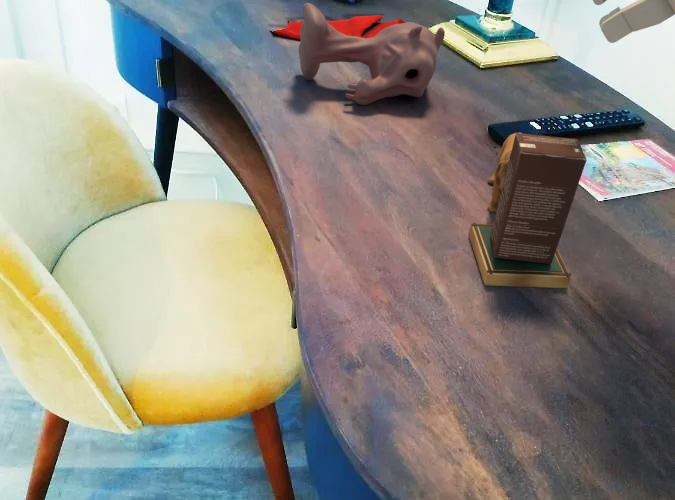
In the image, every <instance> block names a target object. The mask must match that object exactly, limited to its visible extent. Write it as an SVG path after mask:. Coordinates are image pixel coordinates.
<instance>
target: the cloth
mask: <svg viewBox="0 0 675 500" xmlns="http://www.w3.org/2000/svg"><path fill="white" fill-rule="evenodd" d="M382 19H384V16H383V15H381V14H374V15H361V16H360V15H358V16H352V17H351V18H349V19H338V20H337V19H336V20H326V21H327V22H328V23H329V24H330V25H331V26H333V27H334V28H335V29H336V30H337V31H338V32H340V33H342V34H345V35H348V36H357V37H361V38H365V39H367V38H373V37H375V36H376V35H377V34H378V33H379V32H380V31H382V30H383V29H385V28H387V27H389V26H392V25H395V24H402V23H407V22H406V21H405V20H403V19H401V18H398V19H395V20H392V21H382ZM302 23H303V21H300V22H295V23H293V22H289V23H288V24H287V25H286V26H284V28H285V29H282V30H276V31H273V33H272V34H275V35H276V34H278V35H277V36H280V35H283V36H282V37H286V36H287V37H286V38H291V39H296V40H300V38H301V37H300V30H301V26H302Z"/></svg>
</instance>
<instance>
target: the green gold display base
mask: <svg viewBox="0 0 675 500" xmlns="http://www.w3.org/2000/svg"><path fill="white" fill-rule="evenodd" d="M492 227H493V224H491V223H489V224H488V223H476V222H472V223H470V227H469V230H468V238H469V241H470V244H471V248H472V250H473V253H474V257H475V259H476V263H477V267H478V269H479V272H480V277H481V279H482V282H483V286H491V287H492V286H493V287H494V286H495V287H519V288H520V287H521V288H549V289H553V288H554V289H568V287H569V284H570V282H571V279H572V274H571V272H569V269H568V268H567V265H566V264H565V261H564V259H563V257H562V255H561V254H560V251H559V249H558V248H557V250H556V252H555V255H554V258H553V261H552V264H546V263H539V262H530V261H522V260H512V259H503V258H495V257H494V254H493V247H492V240H491V231H492Z"/></svg>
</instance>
